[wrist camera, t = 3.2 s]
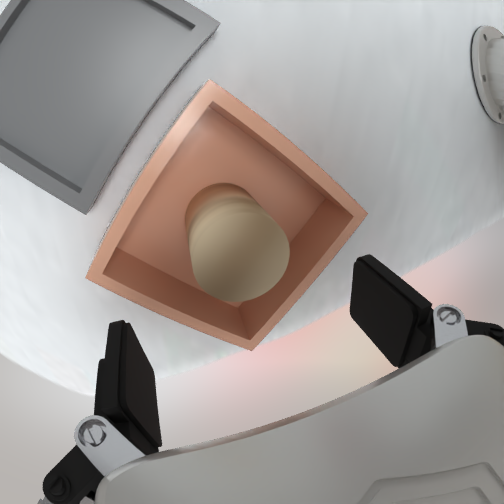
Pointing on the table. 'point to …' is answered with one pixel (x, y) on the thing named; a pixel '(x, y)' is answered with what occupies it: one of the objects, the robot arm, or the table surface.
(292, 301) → the salmon square tray
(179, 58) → the charcoal tray
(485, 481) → the robot arm
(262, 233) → the beech cylinder
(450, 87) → the table surface
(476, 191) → the table surface
